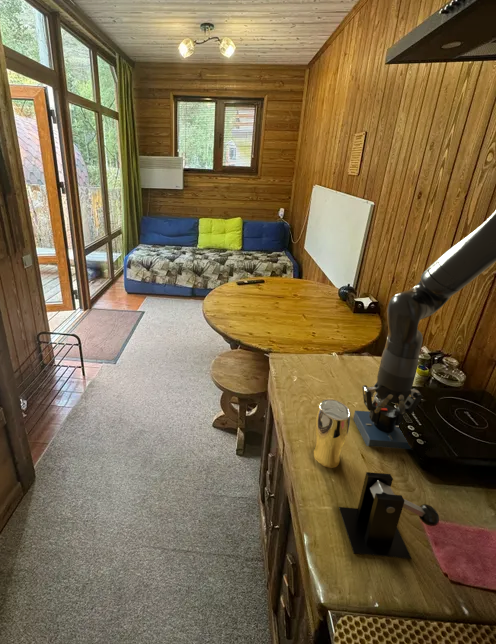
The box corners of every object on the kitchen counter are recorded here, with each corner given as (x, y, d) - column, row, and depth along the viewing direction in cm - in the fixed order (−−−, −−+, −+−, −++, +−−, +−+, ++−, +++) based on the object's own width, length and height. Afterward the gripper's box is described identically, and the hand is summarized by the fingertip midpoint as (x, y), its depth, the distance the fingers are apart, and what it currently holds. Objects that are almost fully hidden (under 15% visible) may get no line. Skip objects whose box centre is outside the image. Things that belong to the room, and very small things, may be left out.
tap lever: (424, 514, 58) (436, 504, 57) (435, 533, 55) (447, 522, 54) (366, 486, 57) (377, 476, 56) (374, 504, 54) (385, 493, 53)
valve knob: (388, 419, 83) (392, 403, 81) (397, 433, 78) (402, 416, 77) (370, 418, 83) (373, 402, 82) (378, 432, 79) (382, 415, 77)
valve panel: (393, 421, 86) (395, 412, 85) (413, 452, 77) (416, 442, 76) (353, 419, 87) (354, 409, 86) (367, 449, 77) (370, 439, 76)
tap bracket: (388, 515, 62) (401, 467, 58) (410, 562, 55) (427, 511, 51) (338, 510, 63) (347, 463, 59) (352, 557, 55) (364, 506, 51)
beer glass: (304, 452, 76) (312, 403, 71) (326, 443, 79) (335, 395, 74) (325, 477, 70) (334, 424, 65) (348, 466, 73) (358, 415, 68)
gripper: (374, 374, 72) (362, 431, 77) (438, 378, 71) (421, 436, 76) (361, 356, 79) (351, 410, 84) (419, 359, 78) (405, 413, 84)
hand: (384, 422), depth 80 cm, fingers closed on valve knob, 5 cm apart
